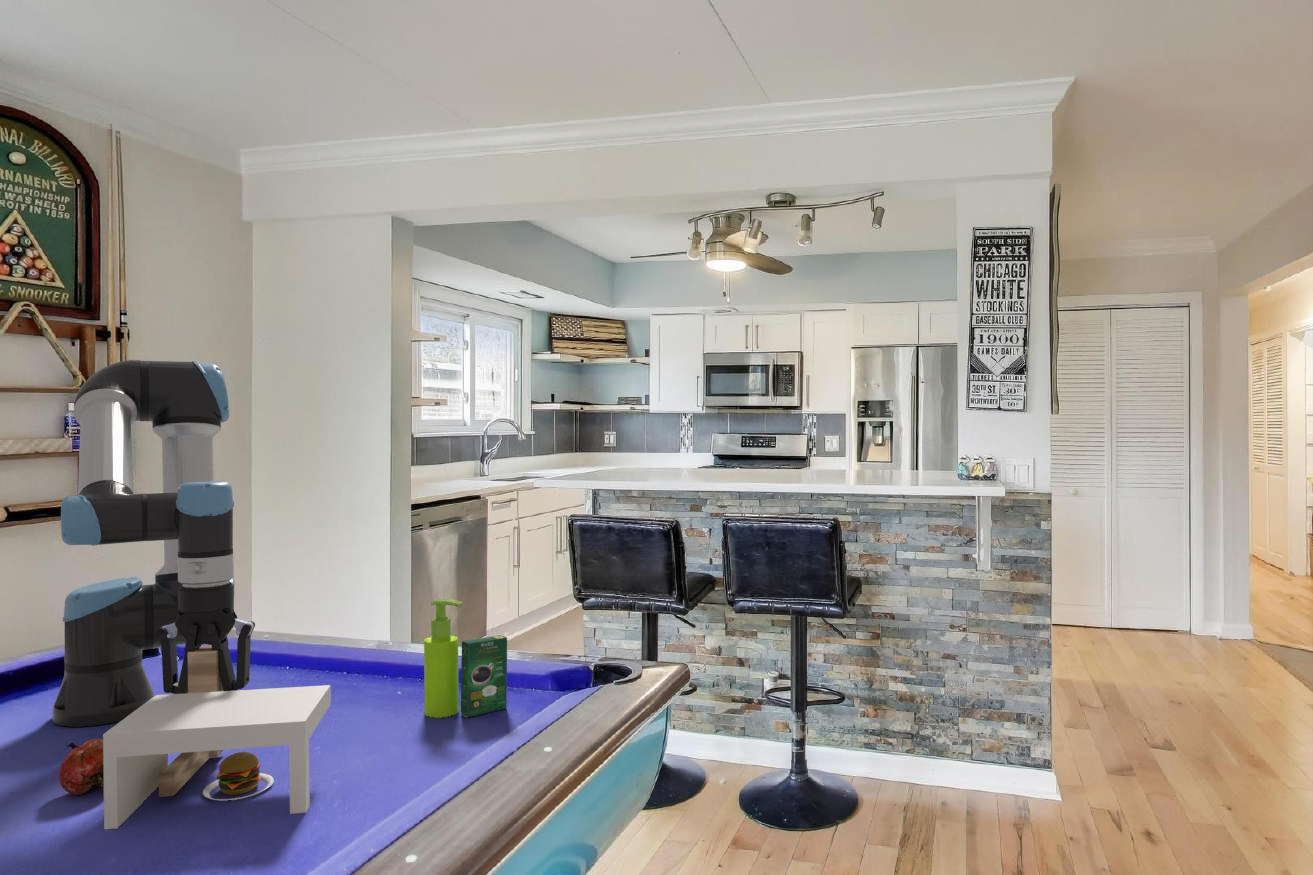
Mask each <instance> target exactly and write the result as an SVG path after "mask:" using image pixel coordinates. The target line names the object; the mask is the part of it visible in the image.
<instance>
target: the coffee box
mask: <svg viewBox="0 0 1313 875" xmlns="http://www.w3.org/2000/svg"><path fill="white" fill-rule="evenodd" d="M460 670H461V671H460V673H461V674H460V676H461V677H460V678H461V679H460V689H461V690H460V714H461V716H463V717H464V718H471V717H477V716H478V717H479V715H484V714H487V713H493V712H498V711H501V710H507V705H508V699H507V698H508V696H507V693H508V692H507V690H508V689H507V688H508V686H507V685H508V682H507V681H508V680H507V679H508V678H507V677H508V676H507V675H508V638H507V636H504V635H494V636H486V637H480V638H474V639H468V640H462V641H461V668H460Z"/></svg>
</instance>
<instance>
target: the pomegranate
mask: <svg viewBox="0 0 1313 875" xmlns="http://www.w3.org/2000/svg"><path fill="white" fill-rule="evenodd" d="M66 747H67V748H69V747H70V748H71V751H70V752H68V754H67V756H66V758H65V759H64V761H63V762H62V763H61V765H60V767H59V772H58V781H59V784H60V786H61V788H62V789H63V790H64V791H65V792H67V793H69V794H72V795H74V796H81V795H83V794H85V793H87V792H89V791H90V790H93V789H96V788H99V787H101V786H102V787H104V764H103V738H102V739H101V738H95V739H89V740H87V741H85V742H84V743H83V744H82V745H77V744H75V742H74V741H73V742H70V743H69V744H68V745H66Z"/></svg>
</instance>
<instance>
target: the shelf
mask: <svg viewBox="0 0 1313 875" xmlns="http://www.w3.org/2000/svg"><path fill="white" fill-rule="evenodd" d="M331 689H332V687H331V684H325V685H324V684H323V685H309V686H307V685H306V686H294V687H293V686H290V687H278V688H277V687H276V688H273V687H272V688H260V689H259V688H256V689H238V690H237V691H220V692H203V693H185V694H173V693H167V694H156V695H155V694H154V697H153V698H151V699H150V700H149V701H147V702H146V703H145V704H143V705H142V706H141V707H139V708H138V709H137V710H135V711H134V712H133V713H131V714H130V715H128V716H127V717H126V718H124V719H123V720H121V721H118V723H117V724H114V726H112V727H111V728H109V729H108V730H107V731H106V732H104V733H103V734H102V740H103V764H104V786H103V829H104V830H113V829H119V827H121V825H122V824H123V823H124V822H126V821H127V819H129V817H130V816H131V815H132V814H134V812H135V811H136V810H137V809H138V808H140V806H141V805H142V804H143V803H144V802H145V801H146V800H147V799H148V798H149V797H150V796H151V795H152V794H153V793H154V792H155V791H156V790H157V789H158V788H159V774H160V773H161V772H162V771H163V770H164V769H165V768H166V767H167V766H168V765H169V763H168V762H169V761H168V759H169V757H168V756H169V754H181V753H184V752H198V751H213V750H223V751H224V750H236V749H237V750H239V749H253V748H268V747H269V748H270V747H281V746H289V748H288V751H289V753H288V756H289V757H288V758H289V815H294V814H306V813H307V812H308V810H309V808H310V806H311V802H310V799H311V798H310V797H311V796H310V792H311V791H310V784H311V783H310V738H311V736H312V735H313V733H314V732H315V730H316V729H317V727H318V726H319V724H320V722H321V721H322V720H323V718H324V716H325V715H326V713H327V712H328V710H329V708H330V707H331V705H332V701H331V700H332V696H331V695H332V694H331V693H332V692H331V691H332V690H331ZM157 787H158V788H157ZM156 788H157V789H156ZM152 792H153V793H152ZM151 793H152V794H151ZM150 794H151V795H150ZM148 796H149V797H148ZM147 797H148V798H147ZM144 800H145V801H144ZM143 801H144V802H143Z"/></svg>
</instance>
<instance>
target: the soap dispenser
mask: <svg viewBox="0 0 1313 875" xmlns="http://www.w3.org/2000/svg"><path fill="white" fill-rule="evenodd" d="M463 604H464V602H463V601H460V600H457V599H452V598H451V599H449V598H447V599H444V598H443V599H435V600H433V601H431V603H430V606H435V616H434V617H433V618H432V619H431V620H430V621H431V622H430V631H431V632H430V633H431V634H430V636H428V637H426V638H424V639H423V660H424V661H423V662H424V663H423V667H424V668H423V671H424V672H423V673H424V674H423V676H424V679H423V681H424V684H423V685H424V689H423V690H424V716H426V717H428V716H429V717H428V718H432V717H434V718H436V719H441V718H442V717H443V718H449V717H452V716H455V715H457V714H458V713H459V710H460V706H459V705H460V702H459V697H460V696H459V694H460V692H459V691H460V690H459V637H458V636H456V635H452V626H451V625H452V618H450V617H449V616H446V615H447V612H446V611H447V606H453V607H456V608H458V607H461V606H462V605H463ZM451 715H452V716H451ZM448 716H449V717H448ZM443 718H442V719H443Z"/></svg>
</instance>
